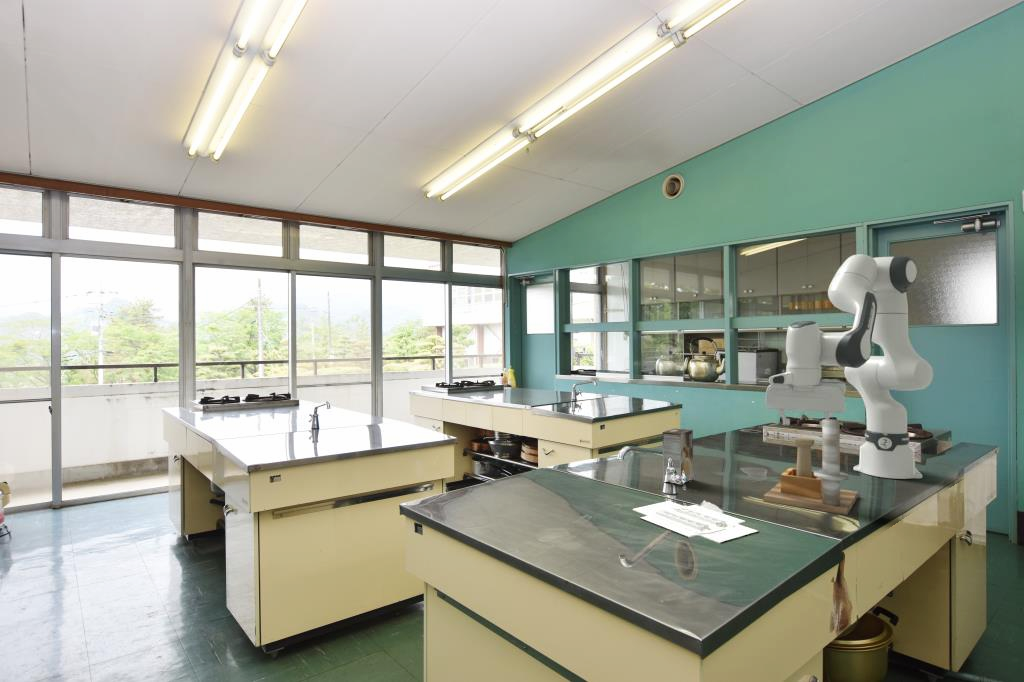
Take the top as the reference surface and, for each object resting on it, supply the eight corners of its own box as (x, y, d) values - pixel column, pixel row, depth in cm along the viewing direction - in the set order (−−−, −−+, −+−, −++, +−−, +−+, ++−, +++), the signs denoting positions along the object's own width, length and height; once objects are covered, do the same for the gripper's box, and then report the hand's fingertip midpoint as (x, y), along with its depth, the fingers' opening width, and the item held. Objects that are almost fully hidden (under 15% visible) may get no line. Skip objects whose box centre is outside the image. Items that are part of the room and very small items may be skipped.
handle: (790, 491, 156) (790, 439, 156) (800, 487, 160) (800, 436, 160) (808, 495, 152) (807, 441, 152) (818, 491, 156) (817, 438, 156)
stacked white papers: (710, 549, 119) (710, 532, 119) (622, 518, 143) (622, 504, 143) (768, 532, 130) (767, 516, 130) (677, 506, 154) (676, 492, 154)
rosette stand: (781, 485, 167) (780, 409, 167) (857, 497, 155) (857, 414, 155) (762, 501, 151) (762, 417, 151) (846, 516, 139) (846, 423, 138)
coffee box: (674, 476, 179) (674, 427, 179) (693, 479, 175) (693, 429, 175) (662, 482, 172) (662, 431, 172) (681, 485, 168) (681, 433, 168)
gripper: (847, 378, 152) (848, 428, 152) (768, 376, 164) (769, 421, 165) (844, 380, 147) (844, 431, 147) (763, 377, 160) (763, 424, 160)
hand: (804, 426), depth 156 cm, fingers open, 8 cm apart
